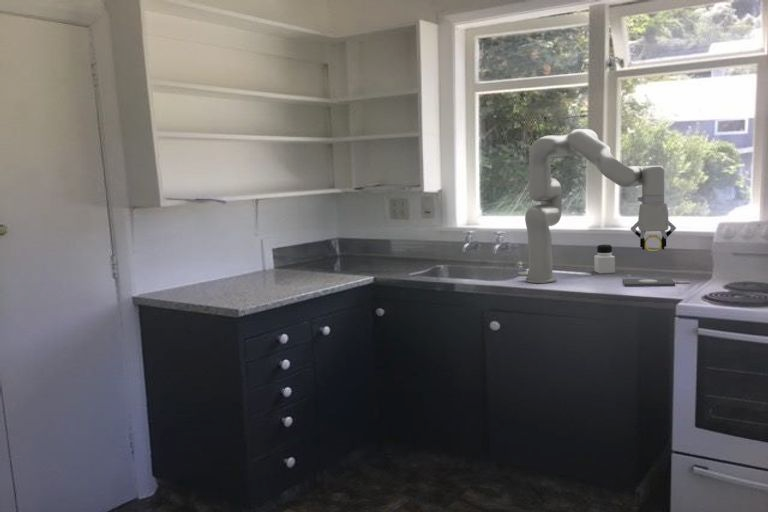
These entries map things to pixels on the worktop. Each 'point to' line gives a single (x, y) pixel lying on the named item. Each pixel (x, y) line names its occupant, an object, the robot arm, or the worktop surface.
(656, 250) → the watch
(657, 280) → the charging pad
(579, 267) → the worktop surface
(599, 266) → the medicine bottle
